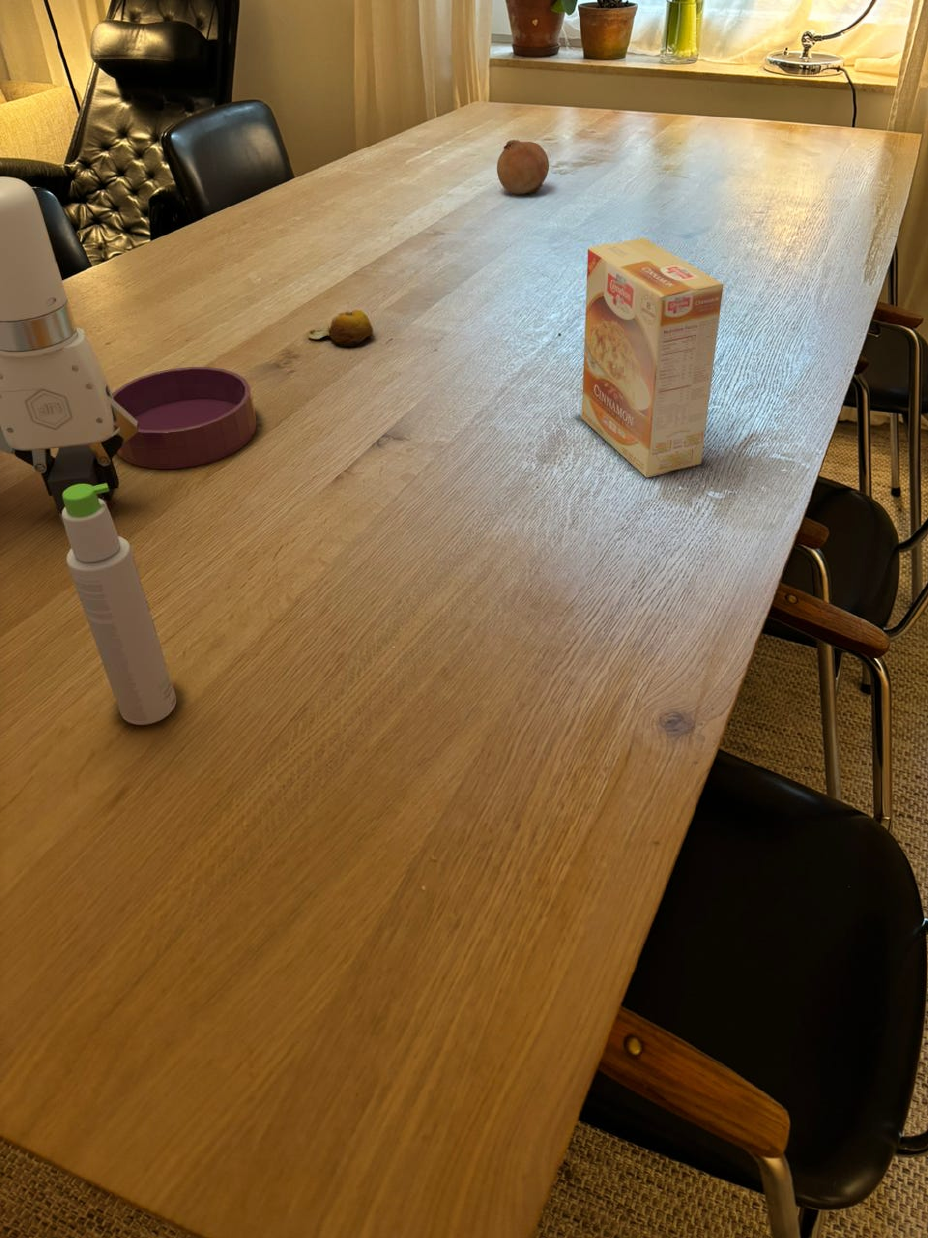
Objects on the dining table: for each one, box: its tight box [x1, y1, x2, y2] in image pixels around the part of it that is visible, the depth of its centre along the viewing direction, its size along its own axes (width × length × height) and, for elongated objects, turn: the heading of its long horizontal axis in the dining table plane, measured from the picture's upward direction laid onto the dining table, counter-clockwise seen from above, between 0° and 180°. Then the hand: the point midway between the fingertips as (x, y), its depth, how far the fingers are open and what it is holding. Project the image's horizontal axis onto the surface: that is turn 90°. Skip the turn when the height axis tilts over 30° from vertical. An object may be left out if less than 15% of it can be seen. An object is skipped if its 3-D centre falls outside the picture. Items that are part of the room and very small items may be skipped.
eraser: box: [48, 444, 108, 525], centre depth 101 cm, size 4×8×5 cm, turn 9°
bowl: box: [111, 366, 257, 470], centre depth 113 cm, size 16×16×4 cm
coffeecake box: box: [580, 237, 725, 478], centre depth 103 cm, size 15×7×20 cm, turn 22°
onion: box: [496, 139, 550, 196], centre depth 180 cm, size 10×9×10 cm
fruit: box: [307, 309, 374, 348], centre depth 133 cm, size 8×8×4 cm
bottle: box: [62, 483, 177, 726], centre depth 73 cm, size 4×4×20 cm
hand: (86, 495), depth 102 cm, fingers closed on eraser, 4 cm apart
